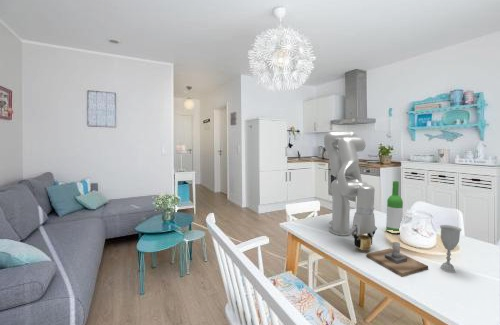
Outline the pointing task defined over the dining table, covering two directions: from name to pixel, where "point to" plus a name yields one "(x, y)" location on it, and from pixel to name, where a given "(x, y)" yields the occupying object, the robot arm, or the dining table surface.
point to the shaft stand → (397, 261)
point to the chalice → (449, 244)
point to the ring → (365, 242)
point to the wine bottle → (394, 209)
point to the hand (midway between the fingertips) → (363, 245)
